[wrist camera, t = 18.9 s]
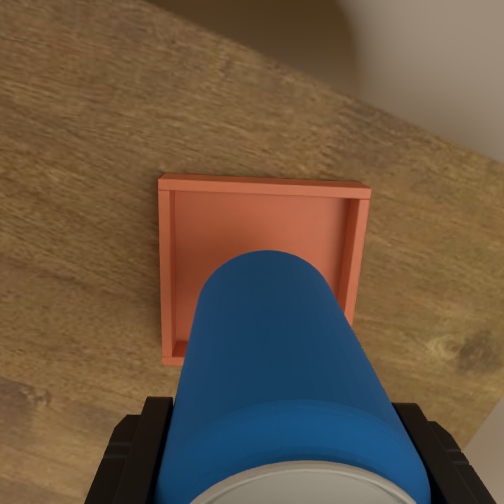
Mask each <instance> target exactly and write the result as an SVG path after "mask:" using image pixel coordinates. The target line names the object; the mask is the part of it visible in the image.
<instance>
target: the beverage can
mask: <svg viewBox="0 0 504 504" xmlns="http://www.w3.org/2000/svg"><path fill="white" fill-rule="evenodd" d="M153 504H431V492H430V485H429V481H428V477H427V473H426V470H425V468H424V465H423V463H422V461H421V459H420V457H419V455H418V453H417V451H416V449H415V447H414V445H413V444H412V442H411V440H410V438H409V436H408V434H407V432H406V430H405V428H404V426H403V425H402V423H401V421H400V419H399V417H398V415H397V413H396V411H395V409H394V408H393V406H392V404H391V402H390V400H389V398H388V396H387V394H386V392H385V390H384V389H383V387H382V385H381V383H380V381H379V379H378V377H377V375H376V373H375V372H374V370H373V368H372V366H371V364H370V362H369V360H368V358H367V356H366V355H365V353H364V351H363V349H362V347H361V345H360V343H359V341H358V339H357V337H356V336H355V334H354V332H353V330H352V328H351V326H350V324H349V322H348V320H347V319H346V317H345V315H344V313H343V311H342V309H341V307H340V305H339V303H338V301H337V300H336V298H335V296H334V294H333V292H332V290H331V288H330V286H329V284H328V283H327V281H326V280H325V278H324V277H323V275H322V274H321V273H320V272H319V271H318V270H317V269H316V268H315V267H314V266H313V265H311V264H310V263H309V262H307V261H305V260H304V259H302V258H300V257H298V256H296V255H293V254H290V253H287V252H282V251H277V250H258V251H252V252H247V253H244V254H241V255H238V256H236V257H234V258H232V259H230V260H229V261H227V262H225V263H224V264H222V265H221V266H220V267H219V268H218V269H216V270H215V271H214V272H213V274H212V275H211V276H210V277H209V278H208V280H207V281H206V283H205V284H204V286H203V288H202V290H201V292H200V295H199V298H198V301H197V306H196V310H195V314H194V319H193V323H192V328H191V332H190V336H189V341H188V345H187V349H186V354H185V358H184V363H183V367H182V371H181V376H180V380H179V385H178V389H177V393H176V398H175V402H174V406H173V411H172V415H171V420H170V424H169V428H168V433H167V437H166V442H165V446H164V450H163V455H162V459H161V463H160V468H159V472H158V477H157V481H156V485H155V490H154V496H153Z"/></svg>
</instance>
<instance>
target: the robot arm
mask: <svg viewBox="0 0 504 504" xmlns="http://www.w3.org/2000/svg"><path fill="white" fill-rule="evenodd" d="M391 404H392V406H393V408H394V409H395V411H396V413H397V415H398V417H399V419H400V421H401V423H402V425H403V426H404V428H405V430H406V432H407V434H408V436H409V438H410V440H411V442H412V444H413V445H414V447H415V449H416V451H417V453H418V455H419V457H420V459H421V461H422V463H423V465H424V468H425V470H426V473H427V477H428V481H429V485H430V492H431V504H496V502H495V501H494V499H493V498H492V496H491V495H490V493H489V491H488V490H487V489H486V487H485V485H484V484H483V482H482V481H481V480H480V478H479V476H478V475H477V473H476V472H475V470H474V469H473V467H472V466H471V465H469V461H468V460H467V458H466V457H465V455H464V454H463V453H461V449H460V448H459V446H458V445H457V443H456V442H455V440H454V439H453V437H452V436H451V434H450V433H448V432H447V431H446V430H445V429H444V428H442V427H441V426H440V425H439V424H438V423H437V422H435V421H428V420H427V419H426V417H425V416H424V414H423V412H422V411H421V409H420V407H419V406H418V405H417V404H416V403H391ZM172 411H173V397H147V398H146V401H145V404H144V407H143V410H142V413H141V415H126V416H125V417H124V418H123V419H122V420H121V422H120V423H119V424H118V425H117V426H116V427H115V428H114V431H113V433H112V436H111V438H110V440H109V444H108V446H107V448H106V450H105V453H104V455H103V459H102V460H101V463H100V465H99V468H98V470H97V473H96V475H95V478H94V480H93V483H92V485H91V488H90V490H89V493H88V495H87V498H86V500H85V503H84V504H153V496H154V490H155V485H156V481H157V477H158V472H159V468H160V463H161V459H162V455H163V450H164V446H165V442H166V437H167V433H168V428H169V424H170V420H171V415H172Z"/></svg>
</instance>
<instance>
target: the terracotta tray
mask: <svg viewBox="0 0 504 504" xmlns="http://www.w3.org/2000/svg"><path fill="white" fill-rule="evenodd" d="M158 189H159V191H158V204H159V246H160V288H161V330H162V364H163V365H177V366H183V363H184V358H185V354H186V349H187V345H188V341H189V336H190V332H191V328H192V323H193V319H194V314H195V310H196V306H197V301H198V298H199V295H200V292H201V290H202V288H203V286H204V284H205V283H206V281H207V280H208V278H209V277H210V276H211V275H212V274H213V272H214V271H215V270H216V269H218V268H219V267H220V266H221V265H222V264H224V263H225V262H227V261H229V260H230V259H232V258H234V257H236V256H238V255H241V254H244V253H247V252H252V251H258V250H277V251H282V252H287V253H290V254H293V255H296V256H298V257H300V258H302V259H304V260H305V261H307V262H309V263H310V264H311V265H313V266H314V267H315V268H316V269H317V270H318V271H319V272H320V273H321V274H322V275H323V277H324V278H325V280H326V281H327V283H328V284H329V286H330V288H331V290H332V292H333V294H334V296H335V298H336V300H337V301H338V303H339V305H340V307H341V309H342V311H343V313H344V315H345V317H346V319H347V320H348V322H349V324H350V326H351V328H352V323H353V316H354V309H355V302H356V295H357V288H358V281H359V274H360V268H361V261H362V254H363V247H364V240H365V233H366V226H367V219H368V212H369V205H370V198H371V191H372V188H370V187H368V186H366V185H364V184H362V183H361V182H348V181H326V180H305V179H283V178H262V177H240V176H218V175H197V174H175V173H165V174H164V175H163V176H161V177H160V178H159V179H158Z"/></svg>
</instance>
